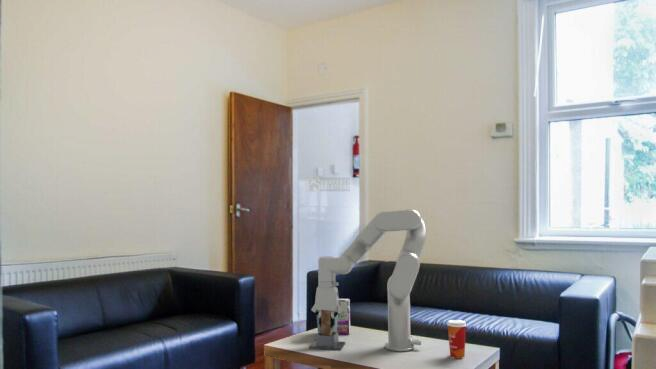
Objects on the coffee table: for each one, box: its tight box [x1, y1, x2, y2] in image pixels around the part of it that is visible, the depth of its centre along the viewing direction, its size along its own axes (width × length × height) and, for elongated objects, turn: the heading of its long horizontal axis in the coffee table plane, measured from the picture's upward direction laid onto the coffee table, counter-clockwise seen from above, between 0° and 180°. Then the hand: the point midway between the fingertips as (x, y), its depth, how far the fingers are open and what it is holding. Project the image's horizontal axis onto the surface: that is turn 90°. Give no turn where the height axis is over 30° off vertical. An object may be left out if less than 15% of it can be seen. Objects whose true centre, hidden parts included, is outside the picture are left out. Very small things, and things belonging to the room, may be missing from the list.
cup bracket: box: [308, 331, 346, 351], centre depth 218 cm, size 14×10×6 cm
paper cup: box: [446, 319, 467, 359], centre depth 202 cm, size 8×8×14 cm
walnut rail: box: [321, 310, 332, 336], centre depth 218 cm, size 4×4×14 cm
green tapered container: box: [316, 311, 338, 334], centre depth 231 cm, size 10×10×12 cm
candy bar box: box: [336, 298, 351, 336], centre depth 241 cm, size 11×5×16 cm, turn 80°
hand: (326, 326), depth 218 cm, fingers closed on walnut rail, 4 cm apart
